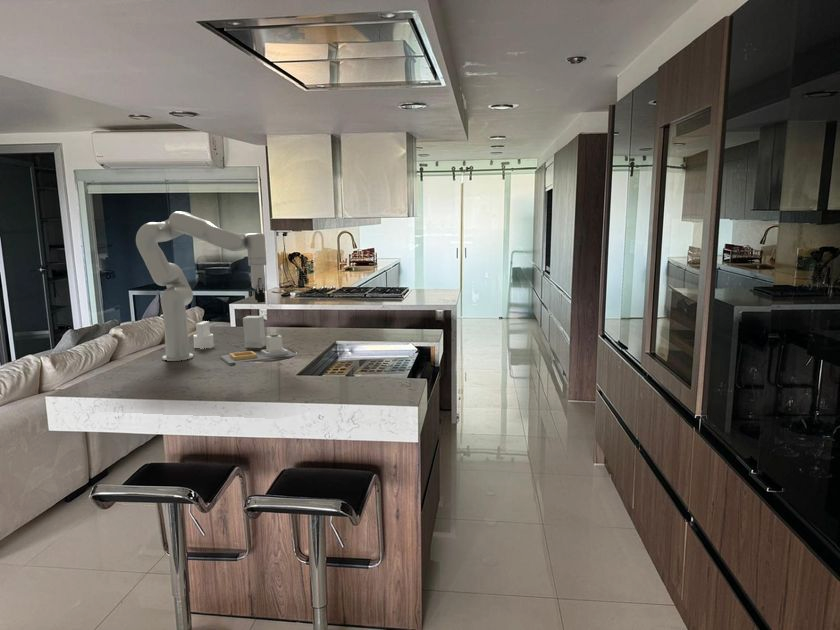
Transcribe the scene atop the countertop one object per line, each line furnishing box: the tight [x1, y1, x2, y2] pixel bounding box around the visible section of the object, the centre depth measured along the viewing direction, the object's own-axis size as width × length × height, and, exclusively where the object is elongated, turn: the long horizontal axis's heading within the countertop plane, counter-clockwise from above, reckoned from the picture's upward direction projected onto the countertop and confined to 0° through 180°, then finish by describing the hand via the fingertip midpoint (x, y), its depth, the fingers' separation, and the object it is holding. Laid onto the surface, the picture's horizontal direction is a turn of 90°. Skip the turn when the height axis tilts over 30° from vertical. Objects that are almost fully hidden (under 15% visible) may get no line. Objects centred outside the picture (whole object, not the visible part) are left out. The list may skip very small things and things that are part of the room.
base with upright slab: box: [193, 320, 215, 350], centre depth 276 cm, size 9×9×12 cm
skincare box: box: [242, 315, 266, 349], centre depth 273 cm, size 8×7×16 cm
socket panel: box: [219, 347, 298, 366], centre depth 255 cm, size 16×30×2 cm, turn 122°
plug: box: [265, 333, 283, 352], centre depth 258 cm, size 4×6×9 cm, turn 123°
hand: (260, 301), depth 250 cm, fingers open, 9 cm apart
